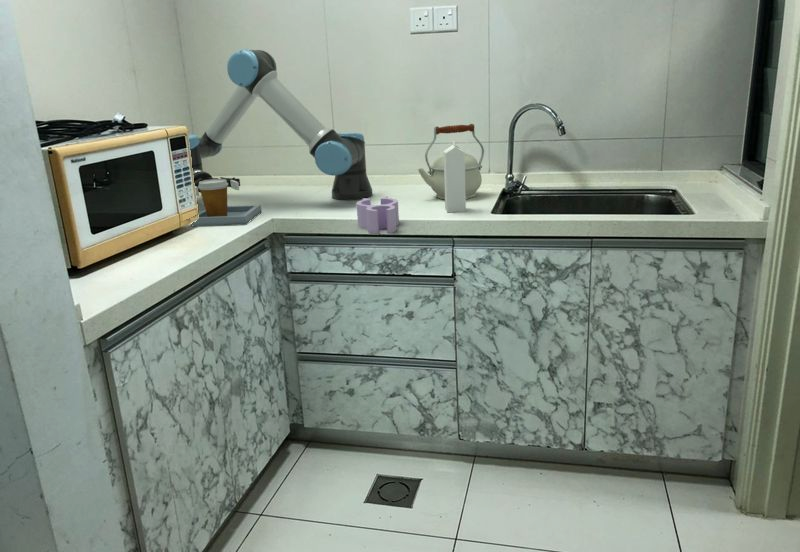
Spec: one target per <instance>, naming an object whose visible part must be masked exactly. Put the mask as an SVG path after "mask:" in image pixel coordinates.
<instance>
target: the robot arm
mask: <svg viewBox="0 0 800 552" xmlns="http://www.w3.org/2000/svg"><path fill="white" fill-rule="evenodd" d="M226 66H227V67H226V68H227V75H228V78H229V79H230V81H231V82H232V83H234V85H236V88H235V89H234V91H232V92H233V93H232V94H231V95H230V97H229V98H228V100H227V101H226V102H225V103H224V105H223V107H222V108H221V109H220V110H219V111H218V113H217V115H216V116H215V117H214V119H213V120H212V122H211V123H210V124H209V126H208V127H207V128H206V130H205V131H204V133H203V134H202V135H201V137H199V136H198V135H197V134H188V135H189V142H190V150H191V157H192V168H193V175H194V183H195V190H196V195H195V196H196V197H198V196H200V194H201V192H200V189H199V188H198V186H199V182H200V181H204V180H211V179H225V180H226V181H227V183H228V187H227V188H231V189H233V190H236V191H240V187H241V179H240V178H236V177H223V176H221V177H220V178H218V177H213V176H212V175H211V174H210V173H208V172H206V171H204V170H203V169H204V167H203V161H202V159H206V158H209V157H215V156H216V155H218V154H220V153H221V151H222V149H223V143H224V142H225V141H226V139H227V138H228V137H229V135H230V134H231V132H233V130H234V128H235V127H236V126H237V124H239V122H240V120H241V119H242V118H243V116H244V115H245V114H246V113H247V111H248V110H249V108H250V107H251V105H252V104H253V103H254V101H255V100H256V99H257V98H258V97H259V98H260V99H262V100H263V102H265V103H266V104H267V106H269V108H271V110H272V111H273V112H274V113H275V114H276V115H277V116H279V118H281V120H283V122H284V123H286V125H287V126H288V127H289V128H290V129H292V131H294V133H295V134H296V135H297V136H298V137H299V138H300V139H301V141H303V142H304V143H305V144H306V145H307V146H308V148H309V149H308V150H309V151H308V153H309V155H311V156H312V158H314V163H315V165H316V167H317V168H318V170H319V171H320V172H322V173H324V174H325V175H328V176H334V180H333V183H332V187H331V198H332V199H336V200H360V199H361V200H362V199H363V198H371V197H372V196H373V187H372V185H371V182H370V179H369V178H368V175H367V165H366V164H367V163H366V147H365V146H366V145H365V144H366V142H365V137H364V135H363V133H359V132H346V133H345V132H343V133H341V132H340V133H339V132H336V130H334V129H333V128H326V127H325V125H323V123H322V122H320V121H319V119H318V118H316V116H314V114H313V113H311V111H310V110H309V109H308V108H307V107H305V105H304V104H303V103H302V102H301V101H300V100H299V99H298V98H297V97H296V96H295V95H294V94H293V93H292V92H291V91H290V90H289V89H288V88H287V87H286V86H285V85H284V83H282V82H281V81H280V80H279V79H278V72H277V71H278V70H277V63H276V61H275V59H274V57H273V56H272V54H270V53H269V52H267V51H265V50H262V49H256V50H255V49H247V48H246V49H245V48H244V49H241V50H236V51H235V52H233V53H232V54H231V55H230V57H229V58H228V61H227V64H226Z"/></svg>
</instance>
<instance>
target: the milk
mask: <svg viewBox="0 0 800 552" xmlns="http://www.w3.org/2000/svg"><path fill="white" fill-rule="evenodd" d="M451 142H452V145H451V146H449V147H447V148H446V149H444V150H443V155H444V183H445V200H444V209H445V210H446V213H462V212H463V213H465V212H466V211H467V206H466V205H467V203H466V200H467V199H466V195H465V154H466V153H465V151H464V150H463V149H461V148H460V147H459V148H460V149H459V148H457V147H458V146H457V147H455V146H456V142H455V140H452V141H451Z"/></svg>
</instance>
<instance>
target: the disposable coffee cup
mask: <svg viewBox="0 0 800 552" xmlns="http://www.w3.org/2000/svg"><path fill="white" fill-rule="evenodd" d="M198 188H199V189H200V192H201V193H200V192H199V193H200V194H201V198H202V199H201V200H202V201H203V202H202V203H203V206H204V210H206V214H207V217H215V216H227V206H228V188H229V187H228V183H227V181H226V180H225V179H220V178H218V179H211V180H204V181H200V182H199V186H198Z"/></svg>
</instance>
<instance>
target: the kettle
mask: <svg viewBox="0 0 800 552" xmlns="http://www.w3.org/2000/svg"><path fill="white" fill-rule="evenodd" d="M464 132H470V133H472V137H473V139H474V140H475V141H476V142H477V144H479V146H480V148H481V155H480V158H479V162H478V160H477V159H476V158H475V157H474V156H473V155H471V154H468V153H465V195H466V200H468V199H472V198H474V197H476V195H477V194H476V193H477V191H478V190H479V189H480V188H481V185H482V174H481V169H482V168H483V165H481V164H482V162H483V160H484V157H485V156H484V155H485V149H484V148H485V147H484V145H483V144H482V143H481V141H480V140H479V139H478V137H476V134H475V133H476V132H475V124H474V123H469V124H456V125H446V126H441V127H439V126H434V127H433V133H434V134H433V136H434V137H433V140H432V141H431V142H430V144H429V146H428V147H427V149H426V150H425V152H424V153H425V154H424V158H425V162H426V165H427V167H428V169H429V170H428V171H427V172H426V170H425V169H424V168H422V167H421V168H418V169H417V171H418V172H419V175H420V176H421V178H422V179H423V181H424V182H425V183H426V185H428V186H429V187H431V189H432V191H433V192H434V193H435V195H436V196H435V197H436V198H437V199H440V200H444V201H445V183H444V154H441V155H440V156H438V157H436V158H435V160H434V161H433V162H432V165H430V163H429V160H428V154H429V151H430V149H431V148H432V146H433V145H434V143H435V142H436V140H437V135H440V134H454V133H464ZM455 147H457V148H459V149H461V148H460V147H458V146H457V145H455Z"/></svg>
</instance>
